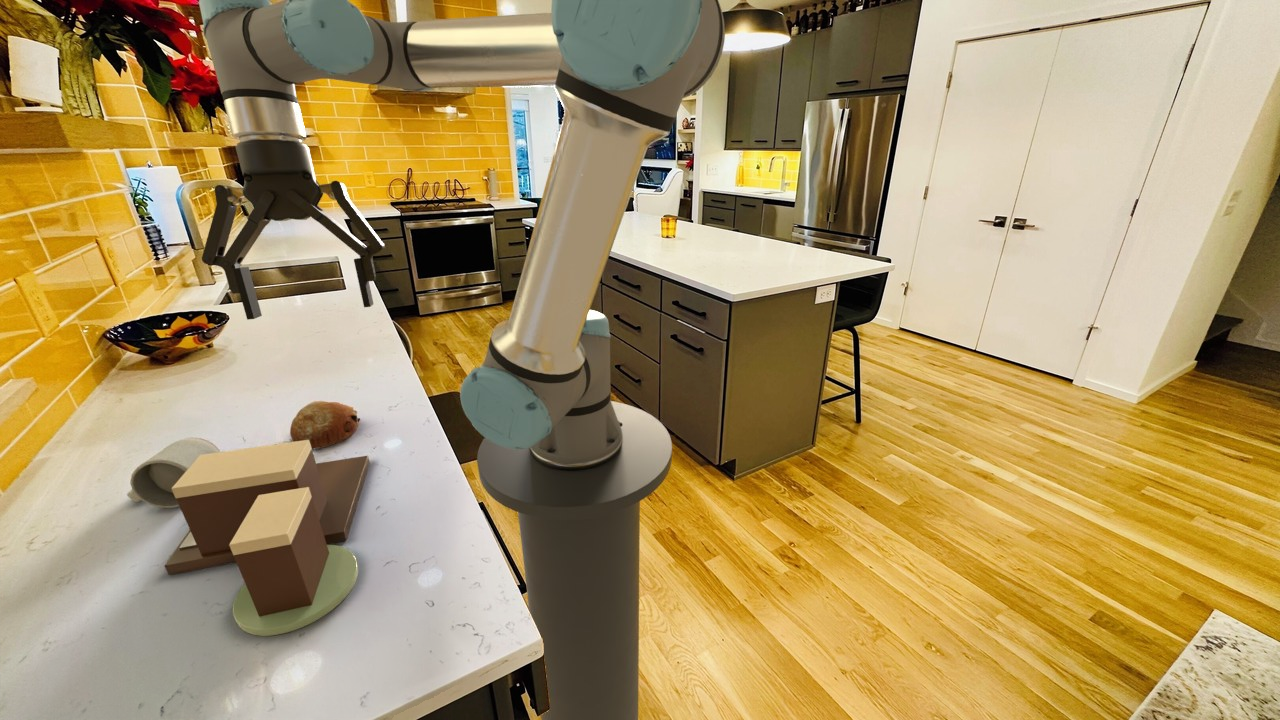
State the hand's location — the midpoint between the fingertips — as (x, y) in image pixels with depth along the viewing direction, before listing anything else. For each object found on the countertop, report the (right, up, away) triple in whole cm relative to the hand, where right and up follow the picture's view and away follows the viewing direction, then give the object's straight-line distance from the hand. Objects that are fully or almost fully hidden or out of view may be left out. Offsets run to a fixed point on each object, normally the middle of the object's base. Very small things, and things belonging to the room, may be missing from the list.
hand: (313, 311), depth 67 cm
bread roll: (-11, -20, +21) cm, 31 cm away
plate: (+5, -33, -10) cm, 35 cm away
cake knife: (-13, -27, 0) cm, 30 cm away
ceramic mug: (-24, -26, +6) cm, 36 cm away
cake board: (-6, -28, +3) cm, 28 cm away
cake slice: (+5, -32, -10) cm, 34 cm away
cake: (-4, -28, -2) cm, 29 cm away
